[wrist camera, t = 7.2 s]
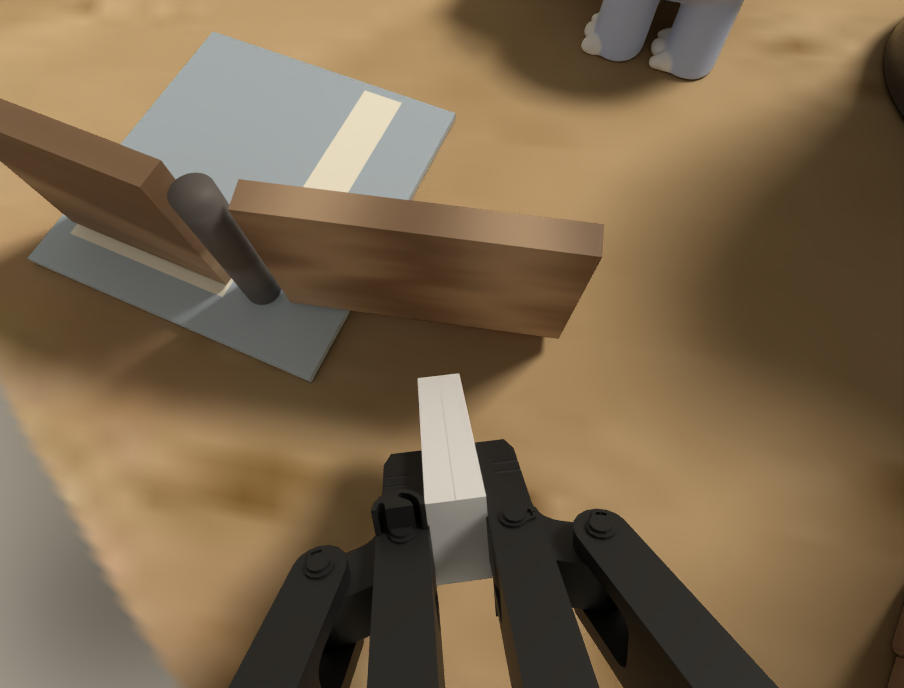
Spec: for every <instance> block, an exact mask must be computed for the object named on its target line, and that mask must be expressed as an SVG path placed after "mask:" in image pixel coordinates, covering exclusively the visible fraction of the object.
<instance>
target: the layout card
mask: <svg viewBox="0 0 904 688" xmlns="http://www.w3.org/2000/svg"><path fill="white" fill-rule="evenodd" d="M455 118H456V113H453V112H450V111H447V110H444V109H441V108H438V107H435V106H433V105H430V104H427V103H424V102H421V101H418V100H415V99H412V98H409V97H406V96H403V95H400V94H397V93H394V92H391V91H388V90H385V89H382V88H379V87H376V86H373V85H370V84H367V83H364V82H361V81H358V80H355V79H352V78H349V77H347V76H344V75H341V74H338V73H335V72H332V71H329V70H326V69H323V68H320V67H317V66H314V65H311V64H308V63H305V62H302V61H299V60H296V59H293V58H290V57H287V56H284V55H281V54H278V53H275V52H272V51H269V50H266V49H263V48H261V47H258V46H255V45H252V44H249V43H246V42H243V41H240V40H237V39H234V38H231V37H228V36H225V35H222V34H219V33H216V32H212V33H211V34H210V36H209V37H208V38H207V39H206V41H205V42H204V43H203V44H202V45H201V47H200V48H199V49H198V50H197V52H196V53H195V54H194V55H193V56H192V58H191V59H190V60H189V61H188V63H187V64H186V65H185V66H184V67H183V69H182V70H181V71H180V72H179V74H178V75H177V76H176V77H175V78H174V80H173V81H172V82H171V83H170V85H169V86H168V87H167V88H166V89H165V91H164V92H163V93H162V94H161V96H160V97H159V98H158V99H157V100H156V102H155V103H154V104H153V105H152V106H151V108H150V109H149V110H148V111H147V113H146V114H145V115H144V116H143V117H142V119H141V120H140V121H139V122H138V124H137V125H136V126H135V127H134V128H133V130H132V131H131V132H130V133H129V135H128V136H127V137H126V138H125V139H124V141H123V142H122V143H121V144H120V145H123V146H125V147H128V148H131V149H133V150H136V151H139V152H141V153H144V154H146V155H149V156H152V157H154V158H157V159H159V160H161V161H162V162H163V164H164V165H165V166H166V167H167V169H168V170H169V171H170V173H171V174H172V175H173V177H174V178H175V179H177V178H179V177H181V176H183V175H185V174H188V173H196V172H197V173H203V174H206V175H208V176H209V177H211V178H212V179H213V180H214V182H215V184H216V185H217V187H218V188H219V190H220V191H221V193H222V194H223V196H224V197H225V199H226V200H227V202H228V203H229V205H230V202H231V199H232V196H233V193H234V191H235V188H236V185H237V182H238V179H242V180H250V181H258V182H266V183H274V184H282V185H291V186H299V187H307V188H315V189H323V190H331V191H339V192H347V193H355V194H363V195H371V196H379V197H387V198H395V199H403V200H411V199H412V198H413V196H414V194H415V192H416V190H417V188H418V187H419V185H420V183H421V181H422V179H423V177H424V176H425V174H426V172H427V170H428V168H429V166H430V165H431V163H432V161H433V159H434V157H435V156H436V154H437V152H438V150H439V148H440V146H441V145H442V143H443V141H444V139H445V137H446V135H447V134H448V132H449V130H450V128H451V126H452V124H453V123H454V121H455ZM27 259H29V260H31V261H32V262H34V263H36V264H38V265H40V266H43V267H45V268H47V269H50V270H52V271H54V272H57V273H59V274H61V275H64V276H66V277H68V278H70V279H73V280H75V281H77V282H80V283H82V284H84V285H87V286H89V287H91V288H94V289H96V290H98V291H101V292H103V293H105V294H107V295H110V296H112V297H114V298H117V299H119V300H121V301H124V302H126V303H128V304H131V305H133V306H135V307H138V308H140V309H142V310H145V311H147V312H149V313H151V314H154V315H156V316H158V317H161V318H163V319H165V320H168V321H170V322H172V323H175V324H177V325H179V326H182V327H184V328H186V329H188V330H191V331H193V332H195V333H198V334H200V335H202V336H205V337H207V338H209V339H212V340H214V341H216V342H219V343H221V344H223V345H225V346H228V347H230V348H232V349H235V350H237V351H239V352H242V353H244V354H246V355H249V356H251V357H253V358H256V359H258V360H260V361H262V362H265V363H267V364H269V365H272V366H274V367H276V368H279V369H281V370H283V371H286V372H288V373H290V374H293V375H295V376H297V377H299V378H302V379H304V380H306V381H309V382H312V380H313V379H314V377H315V375H316V373H317V371H318V369H319V368H320V366H321V364H322V362H323V360H324V358H325V357H326V355H327V353H328V351H329V349H330V347H331V346H332V344H333V342H334V340H335V338H336V337H337V335H338V333H339V331H340V329H341V327H342V326H343V324H344V322H345V320H346V318H347V316H348V315H349V313H350V311H351V310H343V309H336V308H328V307H321V306H314V305H306V304H299V303H291V302H290V301H289V299H288V298H287V296H286V295H285V293H284V292H283V290H282V289H281V292H280V294H279V296H278V297H277V299H276V300H274V301H273V302H271V303H269V304H266V305H258V304H254V303H253V302H251V301H250V300H249V299H248V298H247V296H246V295H245V294H244V293H243V292H242V290H241V289H240V288H239V287H238V286H237V284H236V283H235V282H234V281H233V280H232V278H230V280H229V281H228V283H227V285H224V284H222V283H219V282H217V281H215V280H212V279H210V278H207V277H205V276H203V275H200V274H198V273H195V272H193V271H190V270H188V269H186V268H183V267H181V266H178V265H176V264H174V263H171V262H169V261H166V260H164V259H161V258H159V257H157V256H154V255H152V254H149V253H147V252H145V251H142V250H140V249H137V248H135V247H132V246H130V245H128V244H125V243H123V242H120V241H118V240H116V239H113V238H111V237H108V236H106V235H103V234H101V233H99V232H96V231H94V230H91V229H89V228H87V227H84V226H82V225H79V224H77V223H74V222H72V221H71V220H70V219H69V218H68V217H66V216H65V215H64V214H63V215H62V216H61V218H60V219H59V220H58V221H57V222H56V224H55V225H54V226H53V227H52V229H51V230H50V231H49V232H48V233H47V235H46V236H45V237H44V238H43V240H42V241H41V242H40V243H39V244H38V246H37V247H36V248H35V249H34V251H33V252H32V253H31V254H30V255H29V257H28V258H27Z"/></svg>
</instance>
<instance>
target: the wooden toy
mask: <svg viewBox="0 0 904 688" xmlns="http://www.w3.org/2000/svg"><path fill="white" fill-rule="evenodd" d="M892 650H893V651H894V652H895V653H897V654H898V655H899V656H901V657H898V656H897V657H896V660H895V663H894V666H893V670H892V673H891V676H890V679H889V683H888V686H887V688H904V605H903V608H902V612H901V615H900V618H899V622H898V625H897V628H896V632H895V635H894V638H893V642H892Z"/></svg>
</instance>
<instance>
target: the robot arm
mask: <svg viewBox="0 0 904 688" xmlns="http://www.w3.org/2000/svg"><path fill="white" fill-rule="evenodd" d="M884 68H885V76H886V81H887V84H888V87H889V90H890V93H891V95H892V97H893V99H894V101H895V103H896V105H897V107H898V109H899V110H900V112H901V113H902V115H903V116H904V18H903V19H902V20H901V21H900V23H899V24H898V25H897V26H896V27H895V29H894V30H893V32H892V34H891V36H890V37H889V40H888V42H887V45H886V49H885V56H884ZM418 395H419V412H420V430H421V448H422V450H421V451H413V452H405V453H397V454H391V455H390V457H389V458H388V460H387V461H386V463H385V464H384V473H383V491H382V496H380V497H379V498H378V499H377V500H376V501H375V502H374V504H373V507H372V509H371V513H372V519H373V524H374V529H375V534H376V535H375V537H374V538H373V539H372V540H371V541H369V542H368V543H367V544H365V545H364V546H362V547H360V548H358V549H355V550H353V551H350V552H348V553H345V552H344V551H342V550H341V549H340V548H339V547H335V546H331V545H327V546H318V547H316V548H313V549H311V550H308V551H307V552H306V553H304V554H303V555H301V556H300V557H299V558H298V560H297V561H296V562H295V563H294V565H293V567H292V568H291V570H290V572H289V574H288V576H287V578H286V580H285V582H284V584H283V586H282V587H281V589H280V591H279V593H278V595H277V597H276V599H275V601H274V603H273V604H272V606H271V608H270V610H269V612H268V614H267V616H266V618H265V620H264V621H263V623H262V625H261V627H260V629H259V631H258V633H257V635H256V637H255V639H254V640H253V642H252V644H251V646H250V648H249V650H248V652H247V654H246V656H245V657H244V659H243V661H242V663H241V665H240V667H239V669H238V671H237V673H236V675H235V676H234V678H233V680H232V682H231V684H230V686H229V688H349V687H350V684H351V681H352V678H353V675H354V672H355V669H356V666H357V662H358V659H359V656H360V653H361V650H362V647H363V644H364V638H366V637H368V636H370V646H369V663H368V680H367V688H445V679H444V666H443V653H442V640H441V627H440V614H439V602H438V595H437V586H436V585H443V584H450V583H458V582H465V581H472V580H480V579H487V578H492V576H493V582H494V596H495V609H496V616H498V617H499V622H500V628H501V633H502V638H503V644H504V649H505V654H506V660H507V665H508V670H509V676H510V681H511V686H512V688H599V685H598V682H597V679H596V676H595V674H594V671H593V668H592V665H591V662H590V659H589V656H588V653H587V650H586V647H585V644H584V641H583V638H582V635H581V632H580V629H579V626H578V623H577V621H576V618H575V615H574V612H573V609H572V608H574V610H575V613H576V614H577V616H578V618H579V619H580V621H581V622H582V624H583V625H584V627H585V628H586V630H587V632H588V633H589V635H590V636H591V638H592V639H593V641H594V642H595V644H596V646H597V647H598V649H599V650H600V652H601V653H602V655H603V656H604V658H605V660H606V661H607V663H608V664H609V666H610V667H611V669H612V670H613V672H614V674H615V675H616V677H617V678H618V680H619V681H620V683H621V684H622V686H623V688H778V687H777V686H776V684H775V683H774V682H773V681H772V680H771V679H770V678H769V677H768V676H767V675H766V674H765V672H764V671H763V670H762V669H761V668H760V667H759V666H758V665H757V664H756V663H755V662H754V660H753V659H752V658H751V657H750V656H749V655H748V654H747V653H746V652H745V651H744V650H743V648H742V647H741V646H740V645H739V644H738V643H737V642H736V641H735V640H734V639H733V638H732V637H731V635H730V634H729V633H728V632H727V631H726V630H725V629H724V628H723V627H722V626H721V625H720V623H719V622H718V621H717V620H716V619H715V618H714V617H713V616H712V615H711V614H710V613H709V611H708V610H707V609H706V608H705V607H704V606H703V605H702V604H701V603H700V602H699V601H698V599H697V598H696V597H695V596H694V595H693V594H692V593H691V592H690V591H689V590H688V589H687V588H686V586H685V585H684V584H683V583H682V582H681V581H680V580H679V579H678V578H677V577H676V576H675V574H674V573H673V572H672V571H671V570H670V569H669V568H668V567H667V566H666V565H665V564H664V562H663V561H662V560H661V559H660V558H659V557H658V556H657V555H656V554H655V553H654V552H653V550H652V549H651V548H650V547H649V546H648V545H647V544H646V543H645V542H644V541H643V540H642V539H641V537H640V536H639V535H638V534H637V533H636V532H635V531H634V530H633V529H632V528H631V527H630V525H629V524H628V523H627V522H626V521H625V520H624V519H623V518H621V517H620V516H619V515H617V514H616V513H613V512H611V511H608V510H603V509H591V510H586V511H584V512H582V513H580V514H578V516H577V517H576V518H575V520H574V522H566V521H559V520H554V519H551V518H548V517H546V516H544V515H542V514H541V513H539V511H538V510H537V508H536V507H534V506H533V504H532V502H531V499H530V496H529V493H528V490H527V487H526V484H525V481H524V478H523V475H522V472H521V470H520V466H519V463H518V461H517V457H516V454H515V451H514V448H513V447H512V446H511V445H510V444H508V443H507V442H506V441H505V440H504V439H501V440H493V441H485V442H477V443H474V438H473V434H472V429H471V425H470V420H469V416H468V411H467V406H466V402H465V397H464V393H463V388H462V383H461V379H460V374H459V373H457V374H449V375H440V376H432V377H423V378H418Z"/></svg>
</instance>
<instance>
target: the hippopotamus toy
mask: <svg viewBox="0 0 904 688" xmlns="http://www.w3.org/2000/svg"><path fill="white" fill-rule="evenodd" d="M668 1H673V2H679V3H680V8H679V10H678V13H677V16H676V18H675V21H674V23H673V26H672V28H666V29H663V30H661V31H659V32H658V37H659V38H656V39H655V40H654V41H653V42H652V44H651V52H652V54H653V55H654V56H652V57H651V58H650V59H649V65H650V67H651V68H654V69H657V70H661V71H665V72H669V73H671V74H673V75H675V76H677V77H680V78H685V79H698V78H701V77H704V76H706V75H707V74H708V73H709V72H710V71H711V70H712V68H713V67H714V65H715V62H716V60H717V58H718V56H719V54H720V52H721V49H722V47H723V45H724V43H725V41H726V38H727V36H728V34H729V32H730V30H731V27H732V25H733V23H734V21H735V19H736V17H737V14H738V12H739V10H740V8H741V6H742V3H743V1H744V0H668ZM659 2H660V0H603V2H602V5H601V9H600V12H599V13H596V14H594V15H593V16H592V21H590V22H589V23H588V24H587V25H586V27H585V30H584V33H585V36H586V38H585V39H584V40H583V42H582V44H581V48H582V50H583V51H584V52H586V53H588V54H590V55H600V56H602V57H603V58H605V59H607V60H611V61H626V60H629V59H631V58H633V57H635V56H636V55H637V54H638V53H639V52H640V51H641V49H642V47H643V45H644V42H645V39H646V37H647V34H648V31H649V28H650V26H651V23H652V20H653V17H654V15H655V12H656V9H657V6H658V4H659Z"/></svg>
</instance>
